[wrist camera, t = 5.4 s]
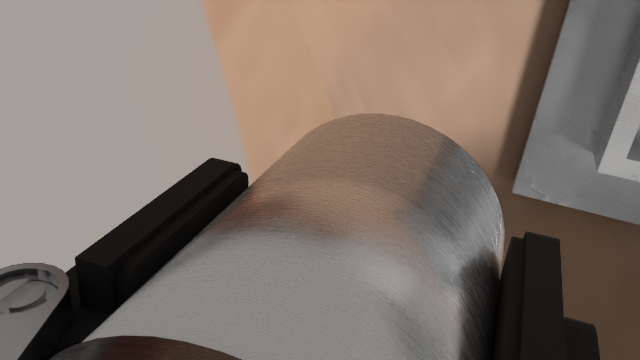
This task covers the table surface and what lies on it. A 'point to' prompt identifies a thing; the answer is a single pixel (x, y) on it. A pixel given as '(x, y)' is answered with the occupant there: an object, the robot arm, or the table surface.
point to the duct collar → (589, 115)
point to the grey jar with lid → (331, 259)
